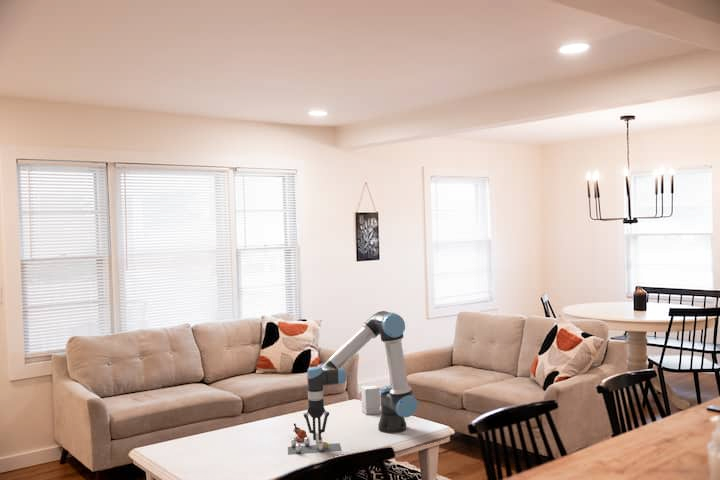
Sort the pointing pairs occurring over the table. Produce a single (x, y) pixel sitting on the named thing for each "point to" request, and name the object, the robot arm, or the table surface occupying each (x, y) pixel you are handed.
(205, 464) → the table surface
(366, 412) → the supplement box
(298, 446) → the spacer field
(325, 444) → the nut
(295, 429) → the figurine
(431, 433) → the table surface
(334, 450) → the mat
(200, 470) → the table surface
